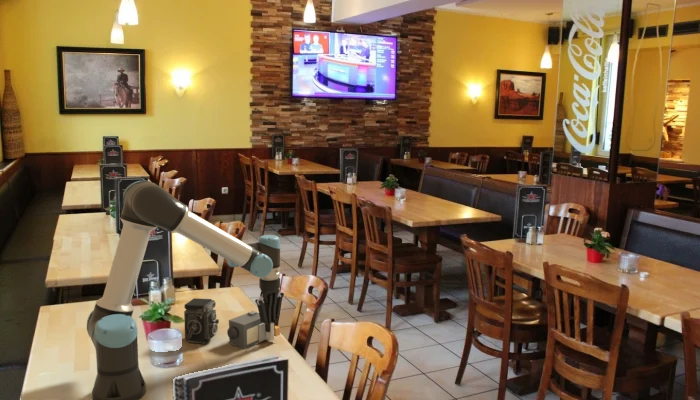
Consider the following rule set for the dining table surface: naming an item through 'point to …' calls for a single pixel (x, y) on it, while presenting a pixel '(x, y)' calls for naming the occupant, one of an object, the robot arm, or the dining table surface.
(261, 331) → the side door
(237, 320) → the housing
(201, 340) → the camera
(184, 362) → the dining table surface
